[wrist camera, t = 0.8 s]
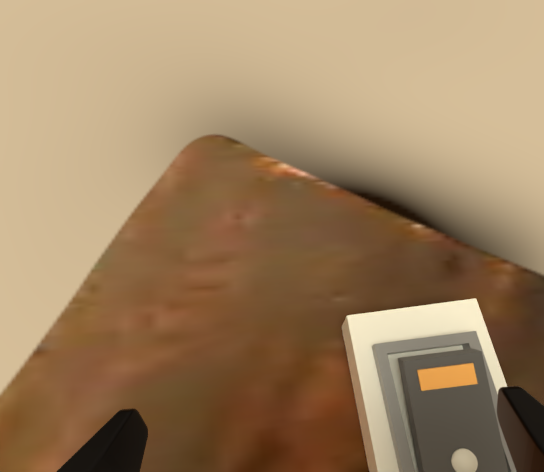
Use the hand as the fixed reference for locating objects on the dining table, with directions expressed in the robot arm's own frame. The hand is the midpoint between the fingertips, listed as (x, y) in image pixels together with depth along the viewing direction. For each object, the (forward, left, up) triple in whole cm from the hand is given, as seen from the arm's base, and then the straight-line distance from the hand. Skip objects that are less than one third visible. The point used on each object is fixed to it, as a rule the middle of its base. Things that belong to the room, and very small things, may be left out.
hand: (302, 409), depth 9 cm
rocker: (-1, -7, -11) cm, 14 cm away
